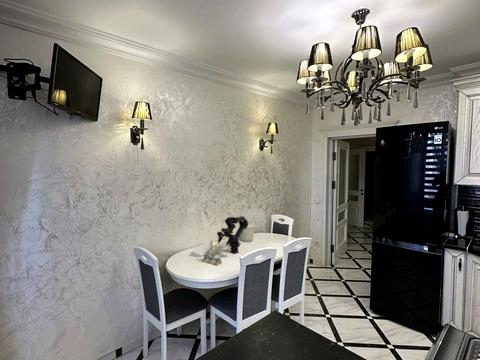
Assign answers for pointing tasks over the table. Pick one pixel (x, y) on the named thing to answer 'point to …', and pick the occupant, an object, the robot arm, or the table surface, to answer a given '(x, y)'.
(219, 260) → the ridge rail
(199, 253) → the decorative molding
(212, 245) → the maple post
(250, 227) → the canister
